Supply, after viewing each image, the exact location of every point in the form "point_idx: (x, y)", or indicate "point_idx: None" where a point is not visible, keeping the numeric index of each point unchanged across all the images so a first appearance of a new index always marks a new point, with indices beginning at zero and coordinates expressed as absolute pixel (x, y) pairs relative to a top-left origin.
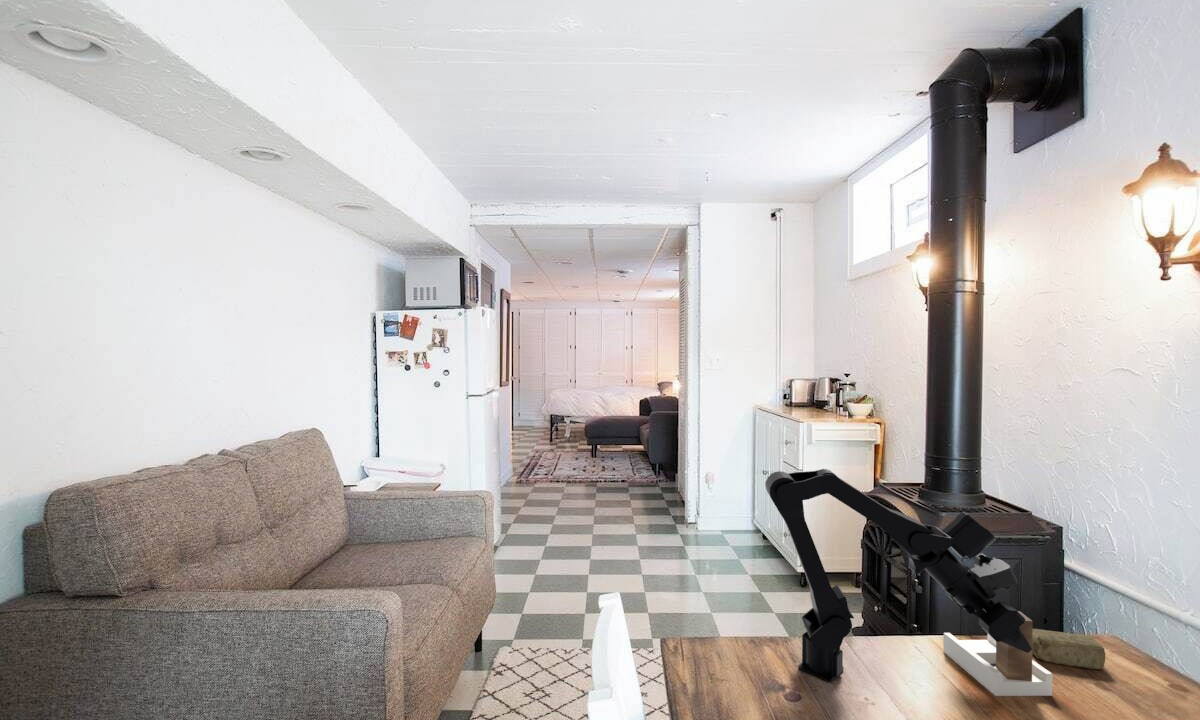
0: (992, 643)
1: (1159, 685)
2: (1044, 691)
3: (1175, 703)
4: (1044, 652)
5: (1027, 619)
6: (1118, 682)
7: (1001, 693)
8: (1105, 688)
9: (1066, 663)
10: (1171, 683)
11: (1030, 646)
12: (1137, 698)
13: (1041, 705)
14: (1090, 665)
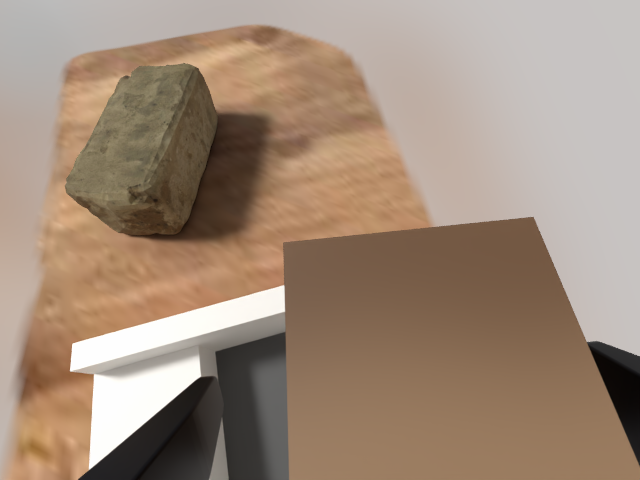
0: (126, 365)
1: (263, 55)
2: None
3: (330, 59)
4: (177, 207)
5: (509, 251)
6: (266, 111)
7: None
8: (301, 144)
9: (201, 174)
10: (251, 38)
11: (629, 353)
12: (330, 106)
13: None
14: (213, 129)
